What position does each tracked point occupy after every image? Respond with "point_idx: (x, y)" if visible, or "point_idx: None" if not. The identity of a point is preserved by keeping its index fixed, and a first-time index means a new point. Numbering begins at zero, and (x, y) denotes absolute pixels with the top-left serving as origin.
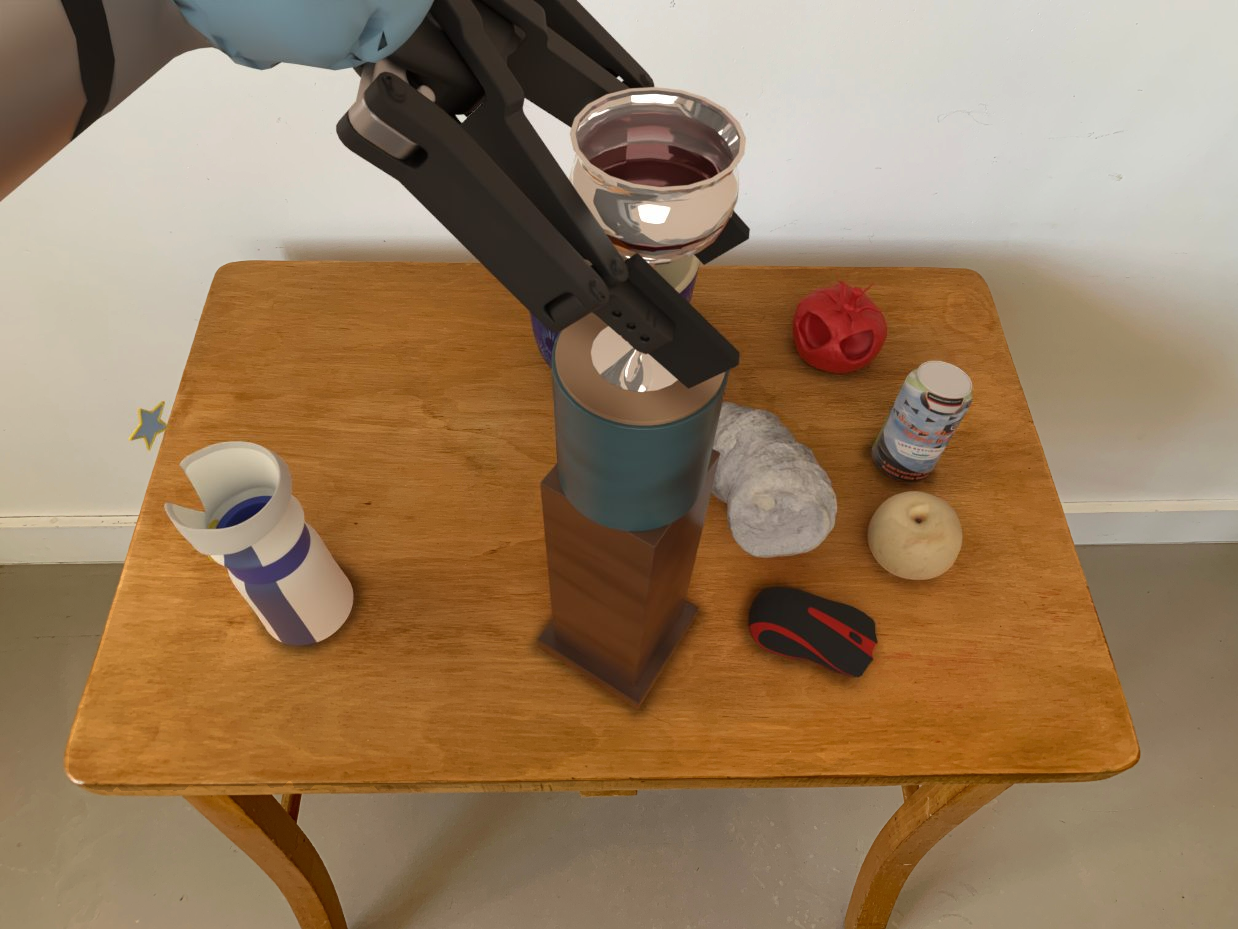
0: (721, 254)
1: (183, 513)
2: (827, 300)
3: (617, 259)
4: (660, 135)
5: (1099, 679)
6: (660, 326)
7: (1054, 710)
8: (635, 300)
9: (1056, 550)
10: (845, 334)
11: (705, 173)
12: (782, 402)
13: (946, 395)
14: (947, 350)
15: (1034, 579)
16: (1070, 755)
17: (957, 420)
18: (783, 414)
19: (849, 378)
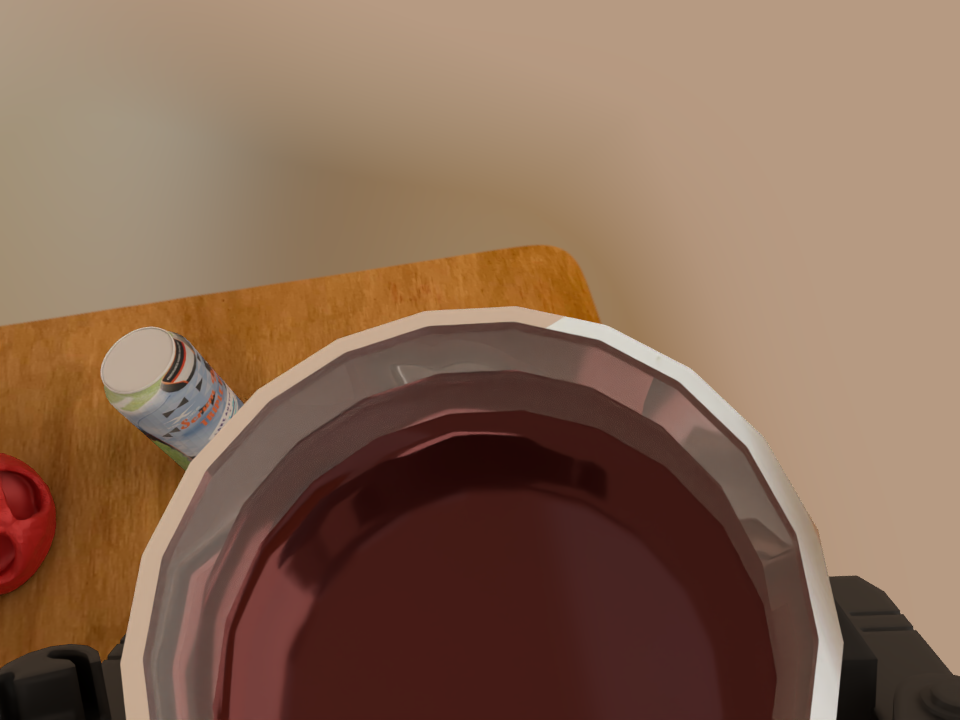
0: None
1: None
2: None
3: (952, 704)
4: (200, 671)
5: (489, 257)
6: (867, 601)
7: (533, 298)
8: (900, 662)
9: (338, 281)
10: (4, 509)
11: (363, 506)
12: (105, 613)
13: (172, 356)
14: (20, 382)
15: (379, 305)
16: (578, 288)
17: (198, 352)
18: (129, 610)
19: (63, 514)
